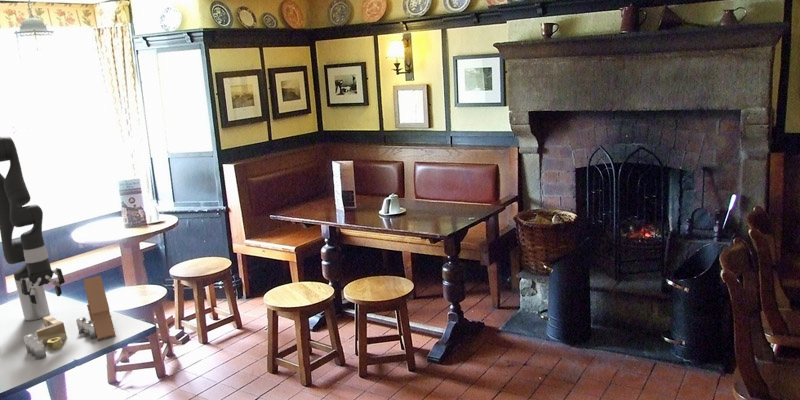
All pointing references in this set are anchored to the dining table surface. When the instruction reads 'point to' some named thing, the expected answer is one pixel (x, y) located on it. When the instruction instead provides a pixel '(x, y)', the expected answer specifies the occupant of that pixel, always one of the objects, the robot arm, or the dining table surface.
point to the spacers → (37, 345)
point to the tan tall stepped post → (99, 307)
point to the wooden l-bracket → (51, 330)
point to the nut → (55, 343)
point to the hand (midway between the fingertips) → (46, 299)
